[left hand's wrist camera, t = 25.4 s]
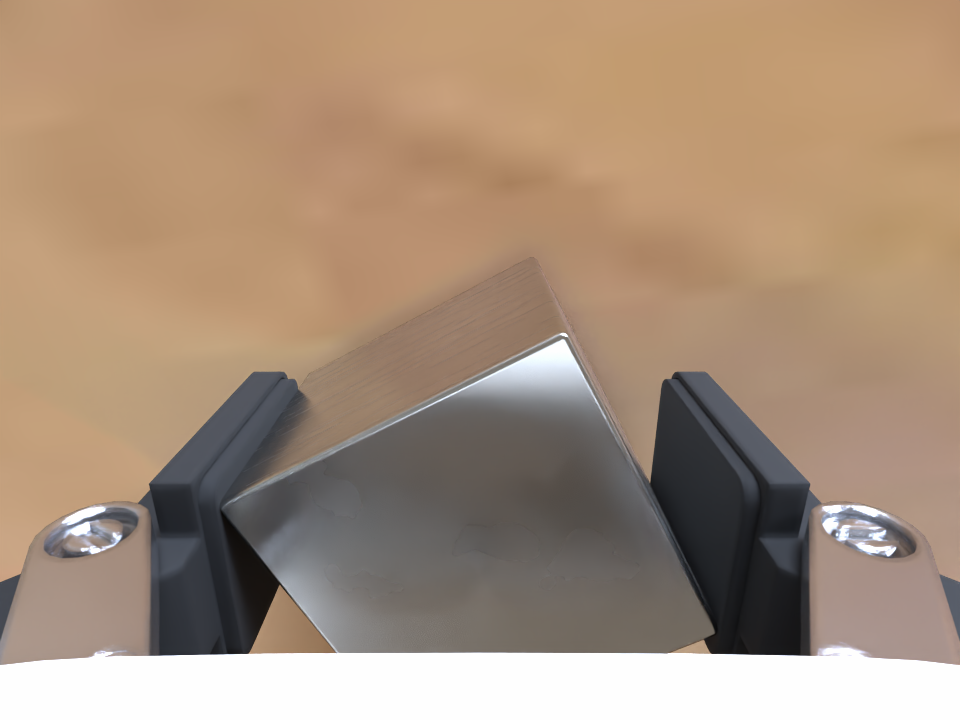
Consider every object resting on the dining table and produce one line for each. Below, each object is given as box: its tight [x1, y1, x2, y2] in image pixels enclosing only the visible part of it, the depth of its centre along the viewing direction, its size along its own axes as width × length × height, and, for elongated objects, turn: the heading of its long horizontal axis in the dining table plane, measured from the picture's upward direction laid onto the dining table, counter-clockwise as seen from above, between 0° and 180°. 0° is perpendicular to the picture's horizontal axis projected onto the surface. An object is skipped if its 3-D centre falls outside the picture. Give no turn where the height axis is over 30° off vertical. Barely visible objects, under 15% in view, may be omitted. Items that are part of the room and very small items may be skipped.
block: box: [219, 257, 718, 654], centre depth 10 cm, size 5×5×4 cm
